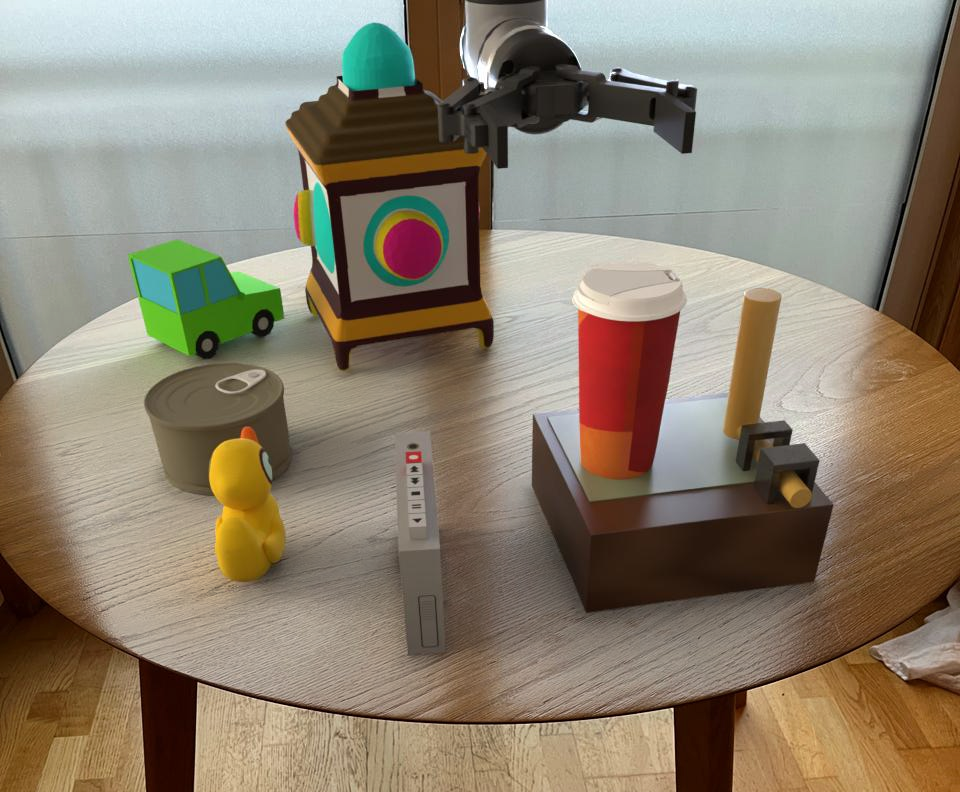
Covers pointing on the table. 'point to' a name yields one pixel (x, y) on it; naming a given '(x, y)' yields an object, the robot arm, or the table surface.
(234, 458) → the duckling
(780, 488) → the bolt
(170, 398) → the can
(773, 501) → the chest
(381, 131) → the decorative lantern
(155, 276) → the toy car
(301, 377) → the table surface
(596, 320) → the paper cup
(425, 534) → the cassette player
